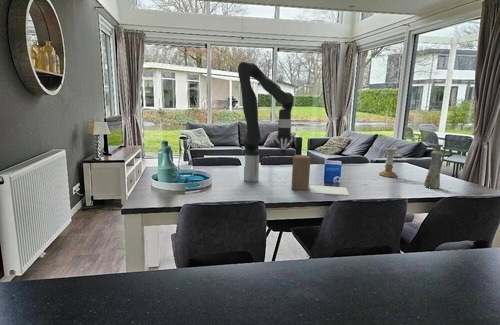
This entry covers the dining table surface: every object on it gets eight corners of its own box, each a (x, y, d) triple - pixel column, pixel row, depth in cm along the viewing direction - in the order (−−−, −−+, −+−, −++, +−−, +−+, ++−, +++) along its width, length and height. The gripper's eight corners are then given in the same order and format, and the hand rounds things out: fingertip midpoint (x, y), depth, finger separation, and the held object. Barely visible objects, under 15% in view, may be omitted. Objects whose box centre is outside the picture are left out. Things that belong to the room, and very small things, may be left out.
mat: (310, 192, 188) (310, 192, 188) (309, 185, 204) (310, 185, 204) (349, 195, 185) (349, 194, 185) (346, 188, 200) (346, 187, 200)
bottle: (431, 189, 202) (437, 145, 196) (420, 186, 210) (426, 143, 205) (443, 189, 204) (449, 145, 199) (431, 185, 213) (437, 143, 207)
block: (308, 191, 191) (310, 158, 187) (291, 190, 193) (292, 157, 189) (308, 187, 201) (310, 155, 197) (292, 185, 203) (294, 154, 199)
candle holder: (387, 173, 245) (390, 146, 242) (400, 176, 235) (404, 149, 231) (375, 174, 240) (378, 147, 236) (388, 178, 229) (391, 150, 225)
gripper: (272, 126, 189) (271, 156, 192) (295, 127, 187) (294, 157, 190) (273, 125, 196) (273, 154, 200) (295, 126, 194) (294, 154, 198)
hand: (283, 155), depth 195 cm, fingers closed
